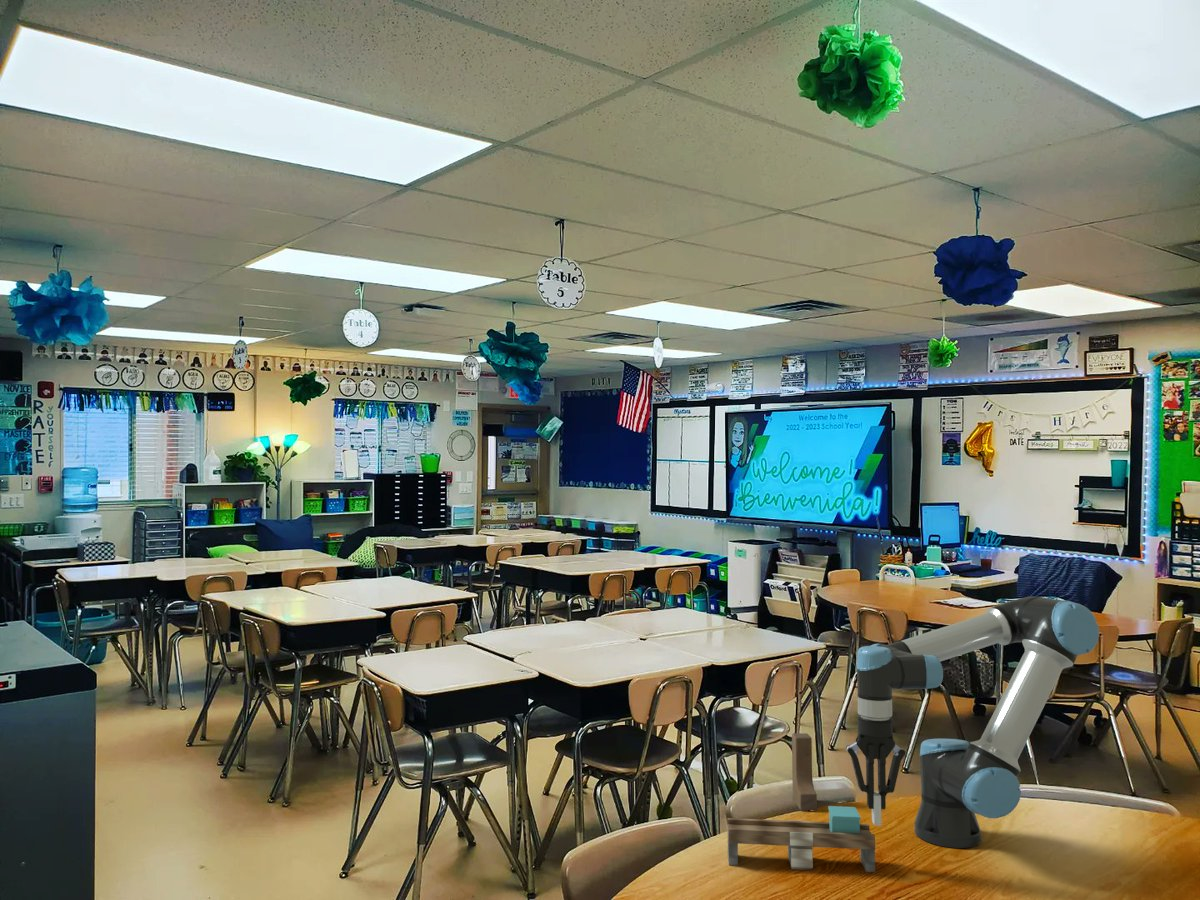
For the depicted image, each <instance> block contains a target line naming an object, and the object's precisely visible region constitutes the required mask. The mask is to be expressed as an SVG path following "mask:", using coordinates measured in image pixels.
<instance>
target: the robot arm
mask: <svg viewBox="0 0 1200 900" xmlns="http://www.w3.org/2000/svg"><path fill="white" fill-rule="evenodd" d="M1099 637H1100V628H1099V625H1098V623H1097V619H1096V617H1095V615H1094V613H1093V612H1092V611H1091V610H1090V609H1089V608H1088V607H1086V606H1085V605H1084V604H1083V605H1082V604H1081V603H1079V602H1078V603H1076V602H1073V601H1072V600H1068V599H1067V600H1065V599H1064V600H1060V599H1055V598H1047V597H1043V596H1034V595H1033V596H1025V597H1020V598H1018V599H1013V600H1010V601H1008V602H1004V603H1000V604H997V605H995V606H992V607H989V608H986V610H985V611H984V614H980V615H977V616H974V617H971V618H968V619H965V620H962V621H958V622H956V623H953V624H950V625H949V624H948V625H946V626H943V627H940V628H936V629H934V630H931V631H928V632H923V633H921V634H917V635H914V636H911V637H909V638H906V639H903V640H899V641H895V642H891V643H889V644H884V643H874V644H871V645H864V646H861V647H859V648H858V650H857V655H856V675H857V676H856V679H857V681H856V682H857V714H858V717H857V736H856V738H855V742H854V743H853V744H851V745H846V747H845V750H846V751H847V752H848V755H849V756H850V759H851V762H852V766H853V770H854V774H855V778H856V781H857V787H858V788H859V790H860V791H861V792H863V793H866V805H867V807H868V809H870V810H871V822H872V823H873V825H874V826H876V827H877V826H879V827H882V810H886V805H887V804H886V797H887V794H889V793H892V794H893V793H894V792H895V788H896V785H897V784H896V783H897V779H898V775H899V772H900V771H899V770H900V766H901V762H902V760H903V758H904V757H905V755H906V750H905V749H904V748H903V747H901V746H898V745H897V744H896V742H895V740H894V737H893V736H894V734H893V733H894V732H893V719H892V717H893V690H923V689H924V690H927V689H935V688H938V687H939V686H941V684H942V682H943V679H944V669H943V666H942V663H941V662H943V661H946V660H949V659H952V658H955V657H959V656H962V655H965V654H968V653H972V652H974V651H977V650H978V651H979V650H981V649H984V648H986V647H987V648H988V647H990V646H993V645H997V644H998V645H1001V646H1006V645H1007V646H1008V645H1011V644H1014V643H1022V646H1023V648H1024V653H1023V654H1022V656H1021V658H1020V660H1019V662H1018V665H1017V666H1016V668H1015V670H1014V672H1013V674H1012V675H1011V678H1010V680H1009V682H1008V684H1007V685H1006V688H1005V690H1004V691H1003V694H1002V696H1001V697H1000V700H999V701H998V703H997V705H996V707H995V709H994V711H993V714H992V715H991V718H990V719H989V720H988V723H987V725H986V728H985V729H984V731H983V733H982V735H981V737H980V739H978V740H975V741H967V740H964V739H957V738H931V739H930V738H929V739H925V740H923V741H922V742H921V743H920V750H919V751H920V752H919V759H920V790H921V791H920V792H921V800H920V804H919V807H918V811H917V814H916V817H915V819H914V834H915V836H916V837H918V838H919V839H921V840H923V841H925V842H927V843H930V844H932V845H937V846H940V847H945V848H946V847H947V848H953V849H954V848H956V849H966V848H973V847H977V846H979V845H980V844H981V843H982V831H981V830H982V829H981V828H980V825H979V822H978V821H979V820H978V818H977V816H976V815H980V816H982V817H984V818H987V819H999V818H1004V817H1006V816H1007V815H1010V813H1012V812H1013V811H1014V810H1015V809H1016V808H1017V806H1018V805H1019V802H1020V800H1021V795H1022V790H1021V789H1020V787H1021V784H1020V782H1019V779H1018V777H1019V776H1020V773H1021V767H1020V765H1019V761H1018V760H1019V758H1020V757H1021V754H1022V752H1023V750H1024V748H1025V746H1026V744H1027V742H1028V740H1029V737H1030V735H1032V734H1031V733H1032V732H1033V729H1034V727H1035V726H1036V723H1037V722H1038V719H1039V718H1040V716H1041V713H1042V712H1043V709H1044V707H1045V705H1046V703H1047V702H1048V699H1049V697H1050V696H1051V693H1052V691H1053V689H1054V687H1055V686H1056V683H1057V681H1058V679H1059V677H1060V675H1061V673H1062V671H1063V670H1064V669H1067V668H1071V667H1074V664H1075V662H1076V661H1077V659H1078V656H1082V655H1086V654H1087V653H1090V652H1092V651H1093V649H1095V647H1096V646H1097V645H1098V641H1099ZM858 749H859V750H860V752H862V754H863V755H864V756H865V777H866V778H865V780H864V777H863V771H862V769H861V765H860V760H859V757H858V754H859V750H858ZM891 752H892V754H893V756H892V760H891V764H890V768H889V773H888V777H887V776H886V772H887V771H886V770H887V769H886V764H887V760H886V759H887V758H888V756H889V755H890V754H891ZM875 760H877V790H878V791H875V770H874V769H875V767H874V766H875ZM886 777H887V778H886ZM865 782H866V784H865Z"/></svg>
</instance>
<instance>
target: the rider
mask: <svg viewBox="0 0 1200 900" xmlns="http://www.w3.org/2000/svg"><path fill="white" fill-rule="evenodd" d="M827 808H828V815H829V818H828V819H829V820H828V821H829V829H830V831H831V832H839V833H860V824H861V822H860V821H861V820H862V819H861V818H862V817H861V815H860V814H859V812H858V810H857V808H856V807H855V806H834V805H828V806H827Z"/></svg>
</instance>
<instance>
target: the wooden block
mask: <svg viewBox="0 0 1200 900" xmlns="http://www.w3.org/2000/svg"><path fill="white" fill-rule="evenodd" d="M812 740H813V738H812V737H811V735H809V734H808V733H807V732H806V733H805V732H804V733H803V732H802V733H795V732H794V733H792V734H791V752H792V753H791V755H792V756H791V759H792V761H791V764H792V765H791V766H792V767H791V768H792V769H791V771H792V778H791V779H792V800H793V802H794V803H795V805H796V806H797V807H798V809H799V810H800V812H809V811H808V810H815V811H814V812H817V811H818V805H817V804H818V800H817V799H818V798H817V797H818V795H817V793H816V790H815V787H814V782H813V781H814V780H813V749H812V748H813V746H812V743H813V741H812Z"/></svg>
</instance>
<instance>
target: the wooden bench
mask: <svg viewBox="0 0 1200 900" xmlns="http://www.w3.org/2000/svg"><path fill="white" fill-rule="evenodd" d="M726 823H727V859H728V865H729V866H736V867H737V866H739V856H738V855H739V850H738V849H739V844H740V845H741V844H743V845H760V846H761V845H764V846H785V847H787V856H788V857H787V858H788V861H789V864H790V869H791V870H804V871H805V870H806V871H812V869H814V867H813V865H814V863H813V861H814V860H813V859H814V858H813V857H814V855H813V848H827V849H829V848H830V849H831V848H833V849H848V850H849V849H850V850H851V849H853V850H860V851H859V852H860V862H861V864H862V867H863V869H864V871H865V872H867V873H868V872H869V873H876V835H875V833H872V832H871V830H870V824H869V823H860V833H839V832H831V831H830V829H829V822H827V821H809V820H794V819H793V820H789V819H787V820H784V819H783V820H782V819H760V818H759V819H756V818H739V817H737V818H736V817H735V818H734V817H732V818H731V817H727V822H726Z"/></svg>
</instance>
